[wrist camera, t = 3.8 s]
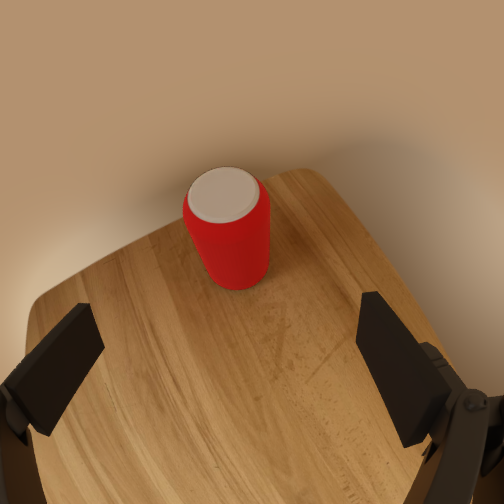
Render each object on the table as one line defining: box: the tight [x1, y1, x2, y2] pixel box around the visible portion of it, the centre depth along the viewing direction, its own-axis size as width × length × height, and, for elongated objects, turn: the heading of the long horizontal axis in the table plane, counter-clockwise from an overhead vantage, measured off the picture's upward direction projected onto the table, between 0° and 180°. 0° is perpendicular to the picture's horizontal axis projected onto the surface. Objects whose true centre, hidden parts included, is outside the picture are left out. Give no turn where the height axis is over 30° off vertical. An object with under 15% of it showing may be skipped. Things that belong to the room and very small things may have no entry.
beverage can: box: [183, 167, 270, 290], centre depth 24 cm, size 6×6×12 cm
